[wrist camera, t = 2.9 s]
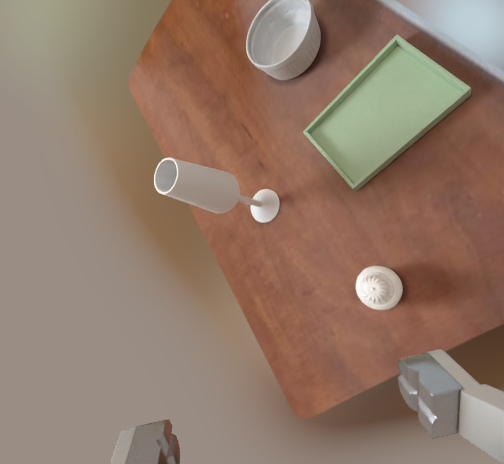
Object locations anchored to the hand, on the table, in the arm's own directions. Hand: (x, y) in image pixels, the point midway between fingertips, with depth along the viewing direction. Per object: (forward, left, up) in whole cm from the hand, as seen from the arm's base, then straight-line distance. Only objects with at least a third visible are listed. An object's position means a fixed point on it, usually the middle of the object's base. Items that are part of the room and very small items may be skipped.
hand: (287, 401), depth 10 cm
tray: (+8, -27, -38) cm, 47 cm away
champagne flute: (+27, -12, -38) cm, 48 cm away
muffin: (+4, -1, -38) cm, 39 cm away
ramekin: (+25, -42, -38) cm, 62 cm away
